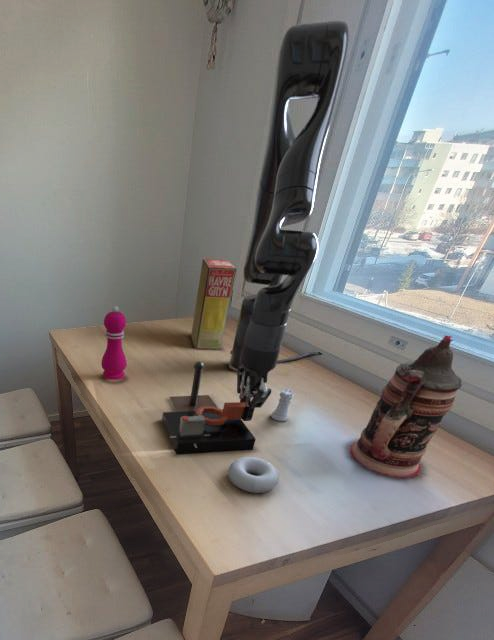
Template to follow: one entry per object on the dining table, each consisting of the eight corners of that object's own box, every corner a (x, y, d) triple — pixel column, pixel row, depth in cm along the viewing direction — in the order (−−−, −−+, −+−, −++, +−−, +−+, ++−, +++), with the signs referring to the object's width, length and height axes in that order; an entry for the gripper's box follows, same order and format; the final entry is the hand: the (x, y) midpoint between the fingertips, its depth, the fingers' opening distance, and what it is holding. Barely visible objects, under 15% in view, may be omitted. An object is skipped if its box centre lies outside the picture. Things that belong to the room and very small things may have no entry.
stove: (230, 419, 104) (233, 408, 102) (256, 455, 92) (259, 443, 90) (157, 423, 102) (158, 411, 100) (173, 460, 90) (175, 448, 88)
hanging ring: (201, 425, 93) (203, 412, 91) (192, 410, 98) (194, 398, 96) (255, 424, 95) (259, 411, 93) (243, 409, 100) (247, 397, 98)
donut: (265, 466, 89) (220, 467, 88) (270, 453, 87) (224, 453, 86) (283, 496, 82) (234, 496, 81) (288, 482, 80) (238, 483, 79)
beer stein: (389, 449, 100) (320, 445, 98) (453, 328, 85) (373, 318, 83) (439, 485, 87) (360, 481, 84) (526, 348, 71) (433, 338, 69)
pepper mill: (123, 384, 118) (126, 310, 105) (98, 382, 119) (98, 308, 106) (127, 374, 123) (131, 303, 110) (104, 372, 124) (105, 300, 111)
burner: (221, 412, 101) (221, 412, 101) (235, 431, 94) (235, 431, 94) (186, 414, 100) (186, 413, 100) (197, 433, 93) (197, 433, 93)
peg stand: (208, 398, 113) (216, 353, 105) (220, 416, 106) (230, 369, 98) (169, 399, 112) (174, 354, 104) (178, 418, 104) (185, 370, 96)
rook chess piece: (287, 418, 106) (297, 389, 101) (287, 426, 102) (297, 397, 97) (269, 415, 107) (278, 386, 102) (268, 423, 104) (277, 393, 98)
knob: (199, 433, 93) (203, 414, 90) (202, 437, 92) (205, 418, 88) (178, 434, 92) (181, 415, 89) (180, 439, 91) (183, 419, 88)
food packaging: (222, 349, 141) (237, 267, 125) (194, 349, 141) (206, 266, 125) (215, 336, 152) (229, 259, 135) (190, 335, 152) (200, 258, 135)
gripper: (295, 355, 82) (271, 431, 93) (265, 331, 92) (247, 402, 103) (259, 356, 81) (239, 433, 92) (233, 332, 91) (218, 404, 102)
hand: (244, 416), depth 97 cm, fingers closed on hanging ring, 2 cm apart
